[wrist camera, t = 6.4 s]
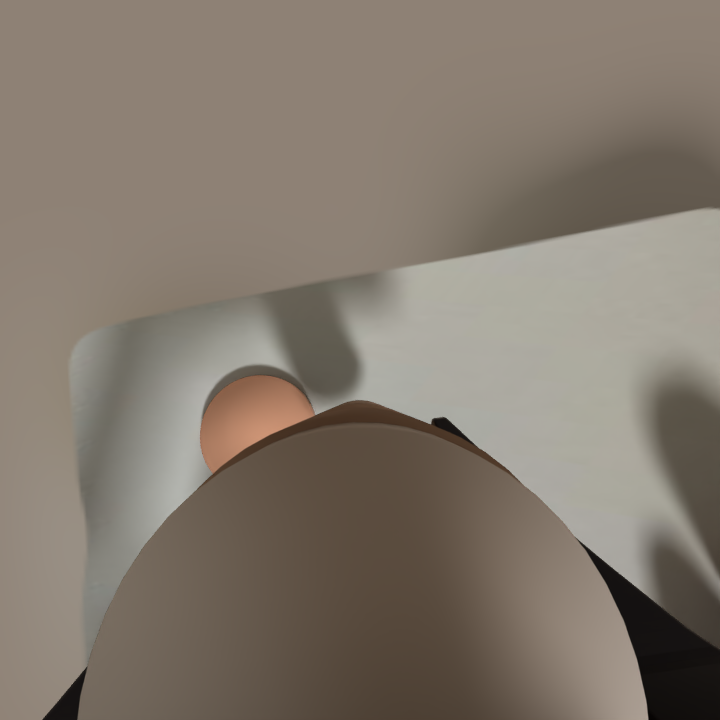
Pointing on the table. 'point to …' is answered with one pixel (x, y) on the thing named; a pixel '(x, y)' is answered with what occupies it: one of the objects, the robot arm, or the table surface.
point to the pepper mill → (363, 591)
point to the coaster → (249, 416)
